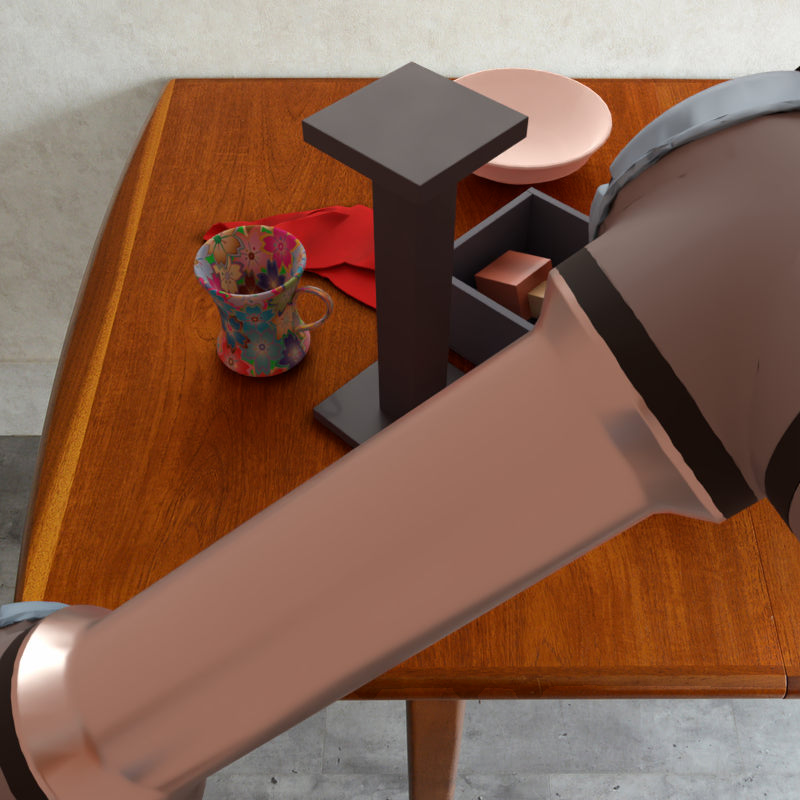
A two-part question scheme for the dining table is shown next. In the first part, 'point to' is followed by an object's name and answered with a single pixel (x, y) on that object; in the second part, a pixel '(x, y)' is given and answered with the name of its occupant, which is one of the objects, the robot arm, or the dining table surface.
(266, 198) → the dining table surface
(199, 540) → the dining table surface
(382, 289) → the stand
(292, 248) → the mug
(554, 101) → the bowl
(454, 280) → the bin
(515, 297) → the mallet
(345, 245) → the cloth
